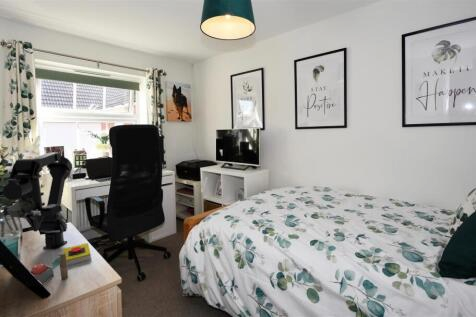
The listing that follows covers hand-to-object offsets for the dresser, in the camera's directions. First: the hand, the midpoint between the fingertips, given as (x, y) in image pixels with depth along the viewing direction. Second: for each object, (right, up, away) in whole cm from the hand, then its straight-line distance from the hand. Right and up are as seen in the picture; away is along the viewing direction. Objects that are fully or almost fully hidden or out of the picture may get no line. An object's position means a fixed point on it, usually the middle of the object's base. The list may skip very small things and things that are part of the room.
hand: (36, 231), depth 101 cm
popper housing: (+10, -14, -11) cm, 21 cm away
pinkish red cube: (+10, -12, -12) cm, 19 cm away
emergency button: (+13, -12, +4) cm, 19 cm away
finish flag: (+18, -14, -12) cm, 25 cm away
